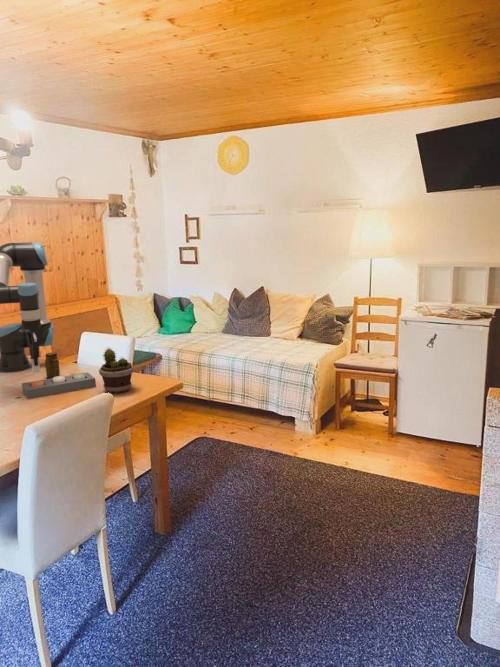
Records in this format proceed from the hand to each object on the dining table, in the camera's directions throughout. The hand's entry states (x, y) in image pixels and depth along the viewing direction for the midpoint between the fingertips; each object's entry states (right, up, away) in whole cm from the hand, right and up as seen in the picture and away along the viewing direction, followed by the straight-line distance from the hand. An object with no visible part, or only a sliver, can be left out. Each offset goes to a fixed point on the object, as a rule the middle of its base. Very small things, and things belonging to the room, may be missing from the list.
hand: (36, 372), depth 216 cm
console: (+8, -8, +6) cm, 13 cm away
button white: (+8, -6, +6) cm, 12 cm away
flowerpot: (+35, -9, +4) cm, 36 cm away
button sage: (+15, -6, +11) cm, 20 cm away
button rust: (0, -8, +1) cm, 8 cm away
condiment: (-2, -5, +25) cm, 25 cm away
